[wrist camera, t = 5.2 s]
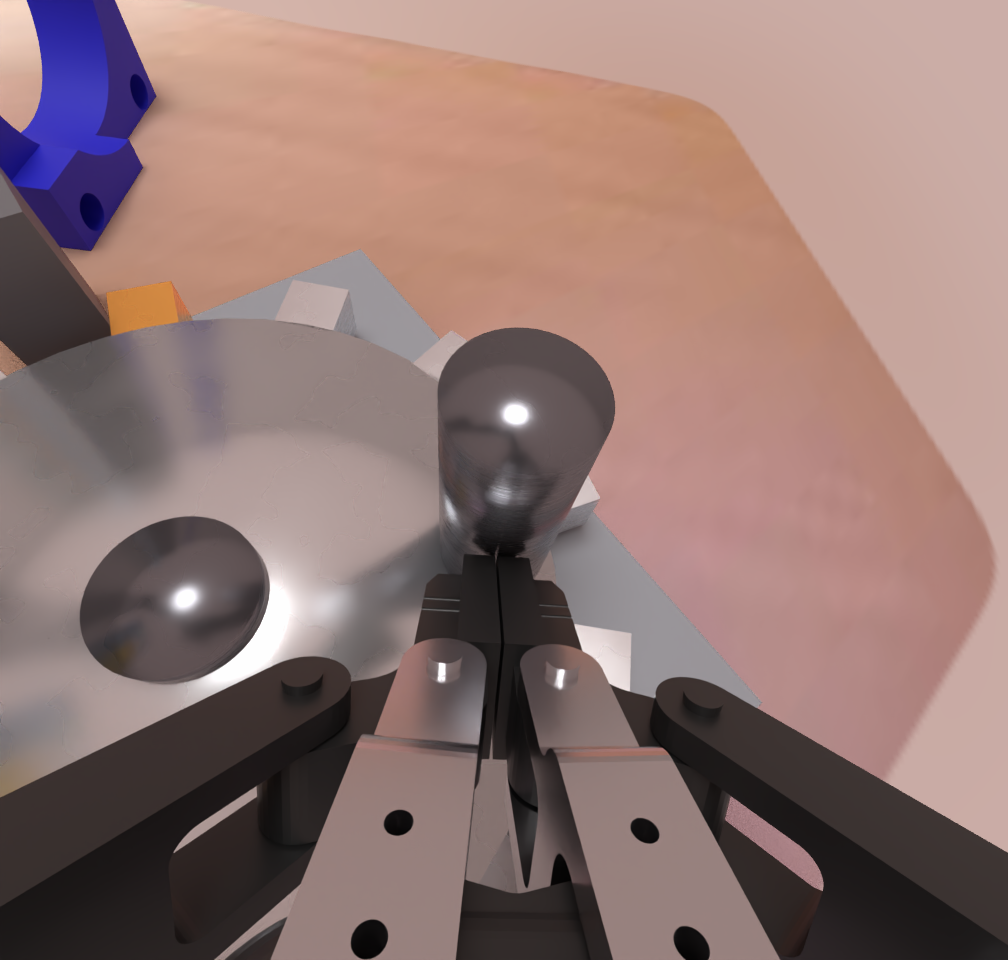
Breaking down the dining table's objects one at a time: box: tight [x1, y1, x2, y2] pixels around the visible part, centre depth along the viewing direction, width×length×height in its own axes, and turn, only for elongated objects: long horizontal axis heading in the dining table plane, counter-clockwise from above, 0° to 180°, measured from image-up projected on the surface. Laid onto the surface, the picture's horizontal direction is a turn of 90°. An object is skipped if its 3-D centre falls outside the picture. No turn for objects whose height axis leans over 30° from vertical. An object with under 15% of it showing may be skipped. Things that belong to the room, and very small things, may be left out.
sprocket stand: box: [0, 167, 762, 834], centre depth 15 cm, size 28×23×6 cm
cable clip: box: [0, 0, 156, 251], centre depth 24 cm, size 12×4×6 cm, turn 176°
